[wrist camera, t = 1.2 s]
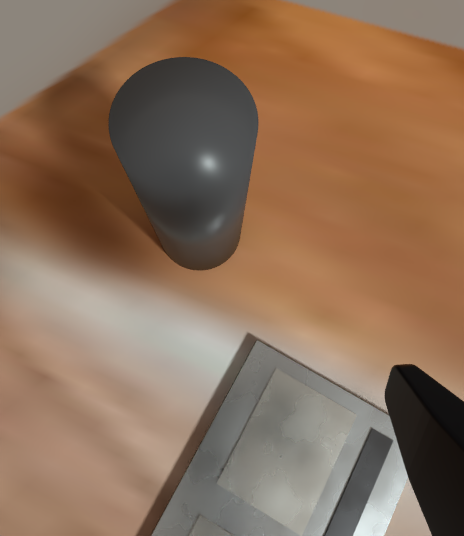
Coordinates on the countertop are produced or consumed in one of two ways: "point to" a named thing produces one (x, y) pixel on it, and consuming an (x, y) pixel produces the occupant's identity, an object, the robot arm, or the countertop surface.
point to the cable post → (188, 154)
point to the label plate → (288, 460)
